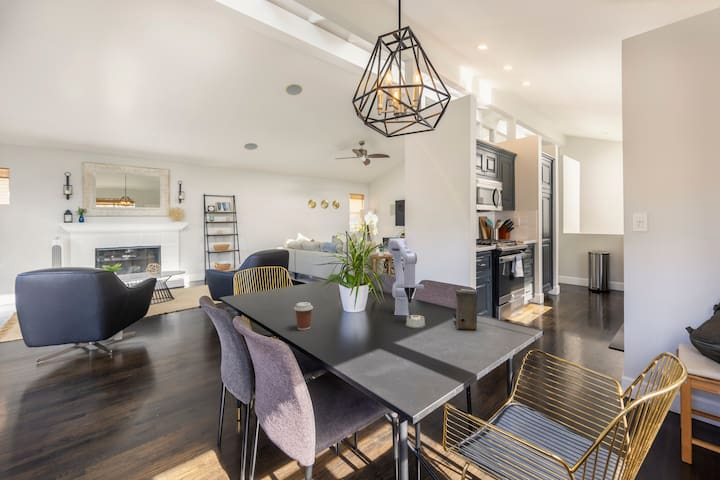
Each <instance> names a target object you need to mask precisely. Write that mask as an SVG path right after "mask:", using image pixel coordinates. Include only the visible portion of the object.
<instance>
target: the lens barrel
mask: <svg viewBox="0 0 720 480" xmlns="http://www.w3.org/2000/svg"><path fill="white" fill-rule="evenodd" d="M412 315H413V314H409V315H408V316H406V322H405V327H407V328H409V329H413V330H414V329H415V330H417V329H418V330H420V329H424V328H426V326H427V325H426V322H425V316H423V315H419V314H417V315H418V316H421V319H411V316H412Z"/></svg>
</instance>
